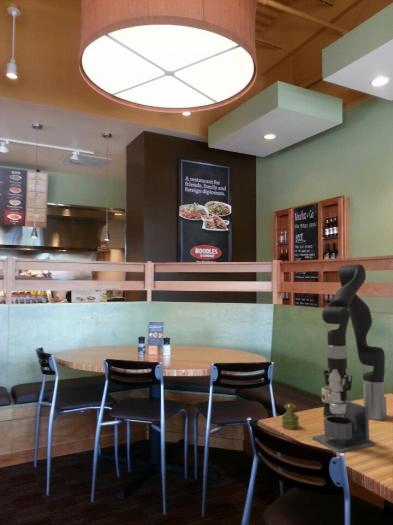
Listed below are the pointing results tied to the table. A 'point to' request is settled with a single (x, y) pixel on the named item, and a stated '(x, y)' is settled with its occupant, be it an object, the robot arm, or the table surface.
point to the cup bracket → (347, 430)
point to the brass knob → (290, 418)
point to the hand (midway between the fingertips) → (338, 398)
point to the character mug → (326, 401)
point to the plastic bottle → (336, 394)
